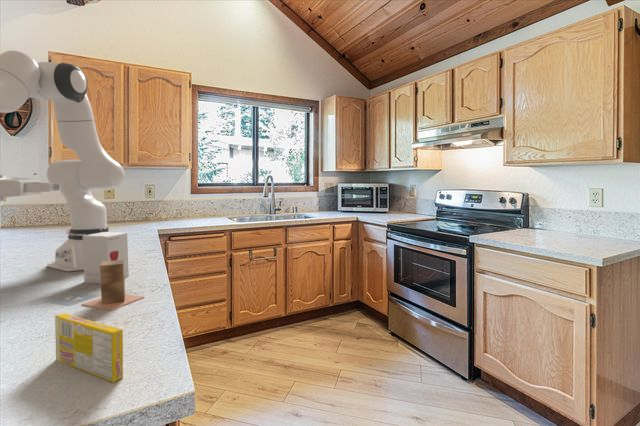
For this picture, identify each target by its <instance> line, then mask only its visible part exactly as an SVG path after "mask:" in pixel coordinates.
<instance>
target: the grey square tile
mask: <svg viewBox="0 0 640 426" xmlns="http://www.w3.org/2000/svg"><path fill="white" fill-rule="evenodd" d="M98 297H101V294H97V293H96V294H95V293H89V292H82V291H75V292H73V293H69V294H66V295H62V296H59V297H56V298H52V299H50V300H49V299H48V300H46V301H45V300H44V303H48V304H54V305H59V306H66V307H71V306H73V305H76V304H80V303H83V302H86V301H88V300H92V299H95V298H98Z"/></svg>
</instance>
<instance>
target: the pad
mask: <svg viewBox="0 0 640 426" xmlns="http://www.w3.org/2000/svg"><path fill="white" fill-rule="evenodd" d="M144 298H145V296H141V295H134V294H127V293H125V301H124V302H119V303H111V304H103V305H102V298H101V297H99V298H96V299H93V300H91V301H88V302H85V303H82V304H81V306H84V307H89V308H95V309H101V310H108V311H114V310H117V309H119V308H121V307H125V306H127V305H130V304H133V303H135V302H137V301H140V300H143V299H144Z"/></svg>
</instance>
